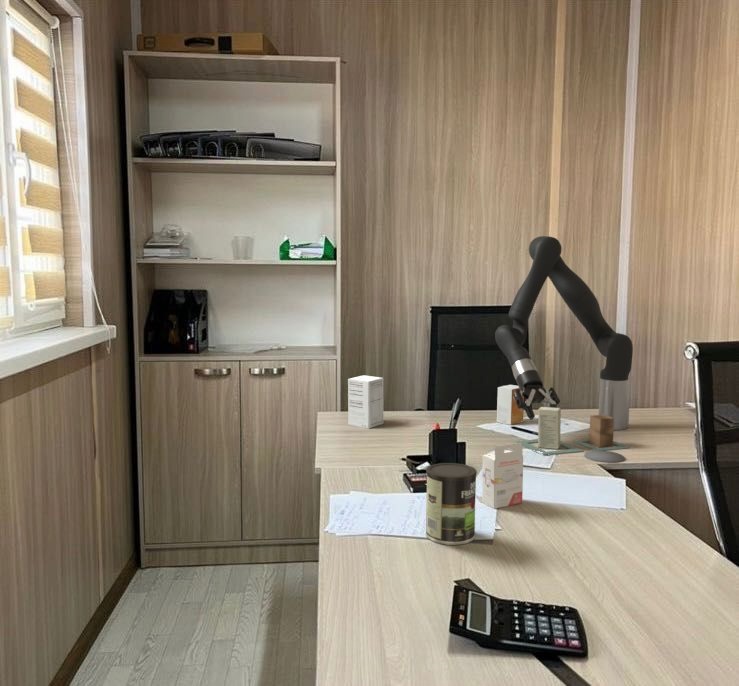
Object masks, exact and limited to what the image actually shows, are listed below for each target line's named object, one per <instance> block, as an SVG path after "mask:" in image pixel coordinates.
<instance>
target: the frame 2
mask: <svg viewBox="0 0 739 686" xmlns="http://www.w3.org/2000/svg"><path fill="white" fill-rule="evenodd" d="M572 442H573V443H575V444H577V445H579V446H582V447H585V448H587V449H589V450H591V451H616V450H628V449H629V450H630V448H631V447H630V446H627V445H625V444H622V443H620V442H616V441H614V440H613V446H611V447H600V448H599V447H597V446H594V445H591V444H589V438H588V439H580V440H578V439H577V440H573V441H572Z"/></svg>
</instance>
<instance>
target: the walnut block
mask: <svg viewBox="0 0 739 686" xmlns="http://www.w3.org/2000/svg"><path fill="white" fill-rule="evenodd" d="M589 418H590V419H589V421H590V422H589V438H588V439H589V442H588V444H589V445H592V446H594V447H597V448H606V447H614V445H613V441H614V431H615V430H614V418H612V417H609V416H606V415H599V414H598V415H596V414H594V415H590V417H589Z"/></svg>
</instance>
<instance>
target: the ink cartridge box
mask: <svg viewBox="0 0 739 686" xmlns="http://www.w3.org/2000/svg"><path fill="white" fill-rule="evenodd" d="M508 449H510V450H508ZM506 450H507V451H506ZM523 452H524V451H523V446H522V443H516V442H515V443H510V444H504V445H497V446H495V447H494V452H493V453H488V454H487V453H486V454H482V482H481V483H482V484H481V485H482V486H481V487H482V491H481V496H482V497H481V499H482V502H481V503H483V504H484V505H487V506H489V507H491V508H492V509H499V508H504V507H508V506H509V507H510V506H514V505H518V504H523V490H524V489H523V488H524V487H523V486H524V485H523V483H524V455H523Z"/></svg>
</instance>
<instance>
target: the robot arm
mask: <svg viewBox="0 0 739 686" xmlns="http://www.w3.org/2000/svg"><path fill="white" fill-rule="evenodd" d="M528 247H529V248H528V253H529V256H530V257H531V260H532V265H531V267H530V270H529V272H528V274H527V276H526V278H525V280H524V281H523V283H522V284H521V286H520V287H519V289H518V291H517V292H516V294H515V296H514V298H513V301H512V302H511V303H512V304H511V306H510V309H509V311H508V317H509V318H510V319H511V320H512V322H513V323H512V326H511V325H507V324H503V325H500V326H498V327H497V329H496V330H495V332H494V338H495V342H496V345H497V346H498V348H499V349H500V351H502V353H503V355H504V356H505V358H507V360H508V363H509V365H510V367H511V370H512V374H513V377H514V379H515V381H516V383H517V386H519V389H520V390H519V389H516V391H515V392H514V394H513V395H514V398H515V401H516V404H517V407H518V408H519V409H521V408H522V409H524V411H525V414H526V415H527V417H528V419H529V420H534V419H535V417H536V416H535V413H534V412H535V411H534V410H533V408H532V406H531V403H532V404H543V405H544V406H546V407H550V408H558V405H559V404H560V402H561V400H560V398H559V397H558V394H557V393H556V390H555V388H553V387H549V388H547V389H546V388H545V387H544V385H543V383H544V382H543V381H542V378H541V375H540V374H539V372H538V369H537V368H536V365H535V363H534V362H533V360H532V358H531V356H530V353H529V352H528V350H527V348H525V347H524V346H523V345H524V343H525V341H526V339H527V332H528V327H529V319H530V317H531V314H532V312H533V309H534V307H535V304H536V301H537V300H538V297H539V295H540V292H541V291H542V289H543V286H544V284H545V283H546V280H547V279H548V278H549V280H550V282H551V284H552V285H553V287H554V288H555V290H556V291H557V293H558V294H559V296H560V297H561V299H562V300H563V301H564V303H565V304H566V306H567V307H568V308H569V310H570V311H571V312H572V313H573V315H574V316H575V317H576V319H577V320H578V321H579V323H580V324H581V325H582V326H583V328H584V329H585V330H586V331H587V333H588V334H589V336H590V339H591V340H592V341H593V343H594V345H595V346H596V349H597V350H598V352H599V353H600V354H601V356H603V357H605V358H606V359H605V365H604V368H602V369H601V370H600V372H599V374H600V375H599V396H598V397H599V399H598V415H606V416H609V417H612V418H614V430H613V431H622V430H626V429H629V421H630V403H631V402H630V401H629V400H628V396H629V395H628V393H629V391H628V390H629V389H628V388H629V376H630V374H631V371H632V367H633V366H632V365H633V364H632V363H633V356H634V355H633V354H634V353H633V352H634V351H633V350H634V349H633V347H634V346H633V342H632V340H631V338H630V336H628V335H627V334H624V333H620V332H616V331H615V330H614V329H613V328H612V327H611V326H610V324H608V322H607V321H606V319H605V318H604V316H603V313H602V311H601V307H600V303H599V301H598V298H597V297H596V296H595V294H594V292H593V291H592V290H591V288H590V287H589V286H588V284H587V283H586V282H585V281H584V280H583V279H582V278H581V277H580V276H579V275H578V274H577V273H575V272H574V270H572V269H571V267H569V266H568V265H567V264H566V262H565V261H564V260H563V258H562V257H561V254H562V251H563V249H562V248H563V246H562V244H561V243H560V241H559V240H558V239H557V238H556V237H555V236H554V237H553V236H547V235H546V236H544V235H543V236H542V235H541V236H537V237H535V238H533V239H532V241H530V244H529V246H528ZM522 396H523V397H524V399H525V400H524V401H523V398H522Z"/></svg>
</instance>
